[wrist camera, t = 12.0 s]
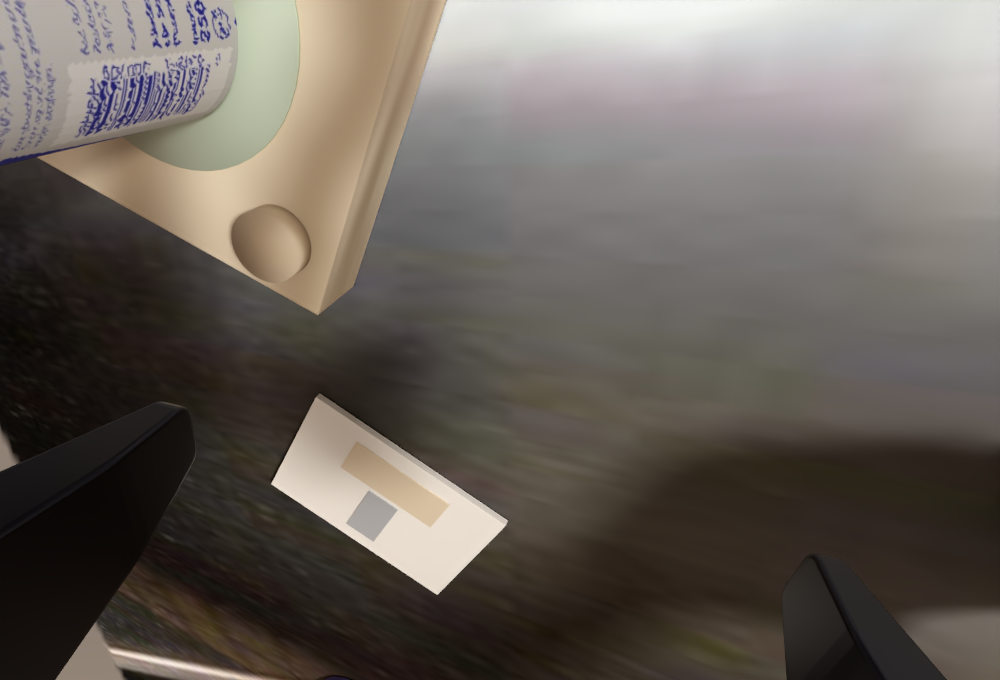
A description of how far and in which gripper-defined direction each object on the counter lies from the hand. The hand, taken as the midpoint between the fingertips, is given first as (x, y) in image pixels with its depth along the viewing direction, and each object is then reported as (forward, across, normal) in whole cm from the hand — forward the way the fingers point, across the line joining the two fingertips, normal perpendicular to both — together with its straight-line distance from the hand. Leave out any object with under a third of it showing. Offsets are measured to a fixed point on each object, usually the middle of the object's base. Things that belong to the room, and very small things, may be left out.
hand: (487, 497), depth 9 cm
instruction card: (+13, +5, +16) cm, 21 cm away
